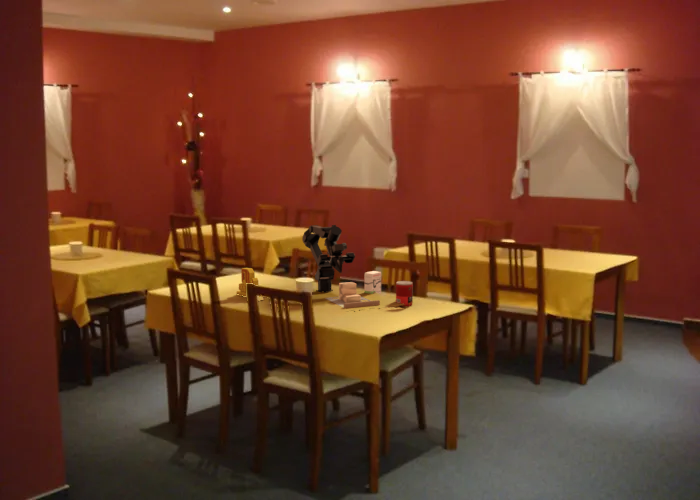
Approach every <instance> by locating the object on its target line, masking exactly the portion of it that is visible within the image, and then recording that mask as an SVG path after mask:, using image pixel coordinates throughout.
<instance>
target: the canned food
mask: <svg viewBox="0 0 700 500" xmlns="http://www.w3.org/2000/svg"><path fill="white" fill-rule="evenodd" d="M413 288H414V285H413V281H411V280H410V281H409V280H400V281H399V280H398V281H396V282H395V303H396V304H400V307H403V306H407V307H412V305H413V303H414V302H413V295H414V292H413V291H414V290H413ZM401 304H402V305H401Z"/></svg>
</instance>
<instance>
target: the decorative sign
mask: <svg viewBox="0 0 700 500" xmlns="http://www.w3.org/2000/svg"><path fill="white" fill-rule="evenodd" d="M255 273H256V272H255V271H254V269H253V268H251V267H242V268H241V269H240V274H241V277H240V278H241V283H238V290H237V291H236V295H237V294H239V295H243V296H246V283H253V284H255V285H258V286H259V279H258V277H255V275H256V274H255ZM259 297H260V296H259Z"/></svg>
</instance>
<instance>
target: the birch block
mask: <svg viewBox="0 0 700 500" xmlns="http://www.w3.org/2000/svg"><path fill="white" fill-rule="evenodd" d="M338 285H339V286H338V288H339V289H338V292H339V293H338V299H340V300H342V301H344V302H346V303H354V302H361V301H362V300H361V297H362V296H361V295H360V294H358V293H357V283H355V282H353V281H350V282H346V281H345V282H339V283H338Z"/></svg>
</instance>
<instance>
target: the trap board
mask: <svg viewBox="0 0 700 500" xmlns="http://www.w3.org/2000/svg"><path fill="white" fill-rule="evenodd" d="M324 299H325V300H327V301H329V302H331V303H333V304H335V305H337V306H339V305H344V303H346V302H344V301H342V300H340V299H339V298H337V296H333V297H325V298H324ZM363 301H371V300H370V299H368V298H365V297H364V296H361V302H363Z"/></svg>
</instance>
